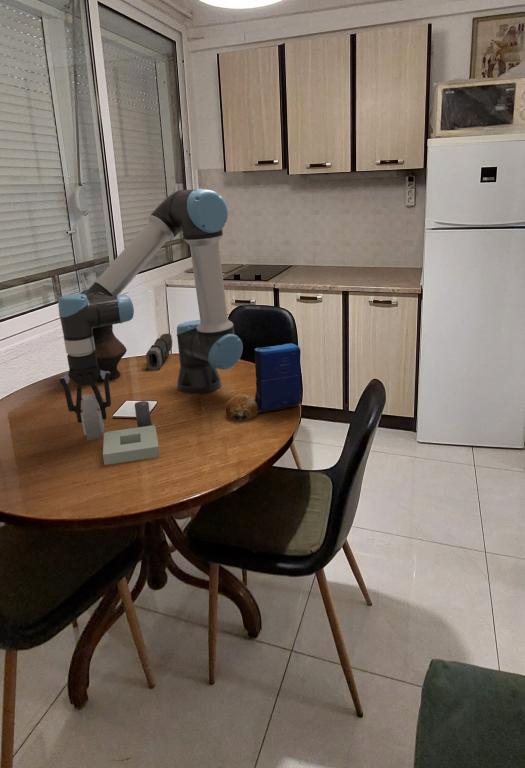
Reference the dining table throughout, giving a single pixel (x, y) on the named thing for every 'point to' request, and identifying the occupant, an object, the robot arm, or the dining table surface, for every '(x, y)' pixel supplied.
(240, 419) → the bread roll
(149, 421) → the round peg
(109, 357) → the jug
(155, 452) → the socket board
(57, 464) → the dining table surface
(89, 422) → the square peg
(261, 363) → the book
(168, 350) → the tube
